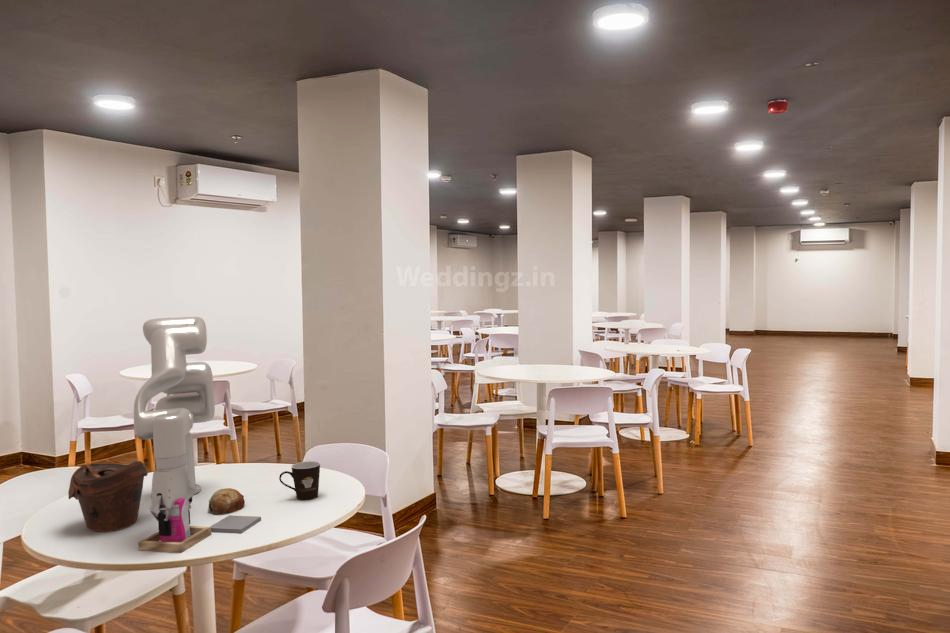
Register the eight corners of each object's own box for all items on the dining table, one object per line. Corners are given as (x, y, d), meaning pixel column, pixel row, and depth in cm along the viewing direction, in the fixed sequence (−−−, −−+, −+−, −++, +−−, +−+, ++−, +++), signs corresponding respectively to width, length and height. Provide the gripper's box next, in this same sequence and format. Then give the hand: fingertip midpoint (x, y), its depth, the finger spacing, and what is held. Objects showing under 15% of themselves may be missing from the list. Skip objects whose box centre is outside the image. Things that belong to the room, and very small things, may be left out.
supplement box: (167, 538, 182) (165, 495, 182) (191, 537, 183) (188, 494, 182) (159, 547, 177) (157, 502, 176) (183, 545, 177) (181, 501, 177)
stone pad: (208, 531, 187) (207, 527, 187) (229, 518, 196) (229, 515, 196) (241, 533, 184) (241, 529, 184) (261, 520, 194) (260, 516, 194)
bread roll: (209, 520, 207) (196, 499, 204) (237, 498, 213) (225, 477, 211) (225, 527, 200) (212, 506, 197) (254, 504, 207) (241, 482, 204)
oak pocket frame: (138, 550, 175) (137, 542, 175) (170, 532, 187) (170, 525, 187) (181, 552, 172) (181, 544, 172) (211, 534, 184) (210, 526, 184)
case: (74, 520, 200) (70, 459, 199) (151, 509, 208) (147, 450, 207) (66, 541, 184) (61, 475, 183) (149, 528, 192) (145, 465, 191)
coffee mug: (325, 492, 218) (323, 461, 217) (316, 501, 209) (314, 468, 209) (289, 493, 219) (287, 461, 218) (279, 501, 210) (277, 469, 210)
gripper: (179, 453, 188) (183, 518, 189) (134, 471, 171) (139, 541, 172) (204, 453, 186) (208, 519, 187) (161, 471, 169) (165, 543, 170)
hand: (175, 529), depth 180 cm, fingers closed on supplement box, 7 cm apart
